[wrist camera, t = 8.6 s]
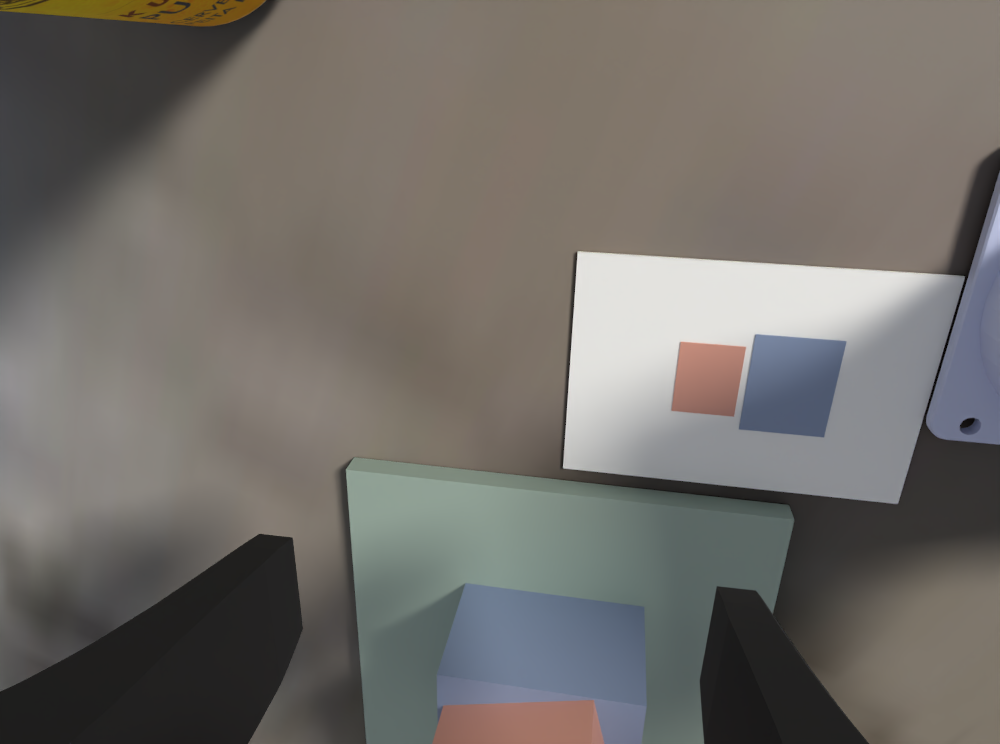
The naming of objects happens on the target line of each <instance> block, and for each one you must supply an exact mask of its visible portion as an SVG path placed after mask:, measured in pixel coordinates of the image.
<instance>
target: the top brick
mask: <svg viewBox="0 0 1000 744" xmlns="http://www.w3.org/2000/svg"><path fill="white" fill-rule="evenodd" d="M432 744H604V740H603V736H602V732H601V727H600V723H599V719H598V715H597V711H596V707H595V703H594V700H578V701H551V702H523V703H495V704H468V705H443V708H442V712H441V715H440V719H439V722H438V726H437V729H436V732H435V736H434V739H433V743H432Z"/></svg>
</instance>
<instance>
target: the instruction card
mask: <svg viewBox="0 0 1000 744" xmlns="http://www.w3.org/2000/svg"><path fill="white" fill-rule="evenodd" d="M964 279H965V276H960V275H944V274H929V273H913V272H897V271H881V270H866V269H850V268H834V267H818V266H803V265H787V264H771V263H755V262H740V261H724V260H708V259H692V258H677V257H661V256H645V255H629V254H614V253H598V252H582V251H578V255H577V270H576V285H575V299H574V314H573V329H572V343H571V358H570V373H569V387H568V402H567V417H566V431H565V446H564V460H563V468H565V469H574V470H584V471H593V472H602V473H612V474H621V475H630V476H640V477H649V478H658V479H668V480H677V481H686V482H696V483H705V484H714V485H724V486H733V487H742V488H752V489H761V490H770V491H780V492H789V493H798V494H808V495H817V496H826V497H836V498H845V499H855V500H864V501H873V502H883V503H892V504H898V502H899V499H900V495H901V492H902V489H903V485H904V482H905V478H906V475H907V472H908V468H909V465H910V462H911V458H912V455H913V451H914V448H915V445H916V441H917V438H918V435H919V431H920V428H921V424H922V421H923V418H924V414H925V411H926V408H927V404H928V401H929V397H930V394H931V391H932V387H933V384H934V381H935V377H936V374H937V370H938V367H939V364H940V360H941V357H942V354H943V350H944V347H945V343H946V340H947V337H948V333H949V330H950V327H951V323H952V320H953V316H954V313H955V310H956V306H957V303H958V300H959V296H960V293H961V289H962V286H963V283H964Z"/></svg>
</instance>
